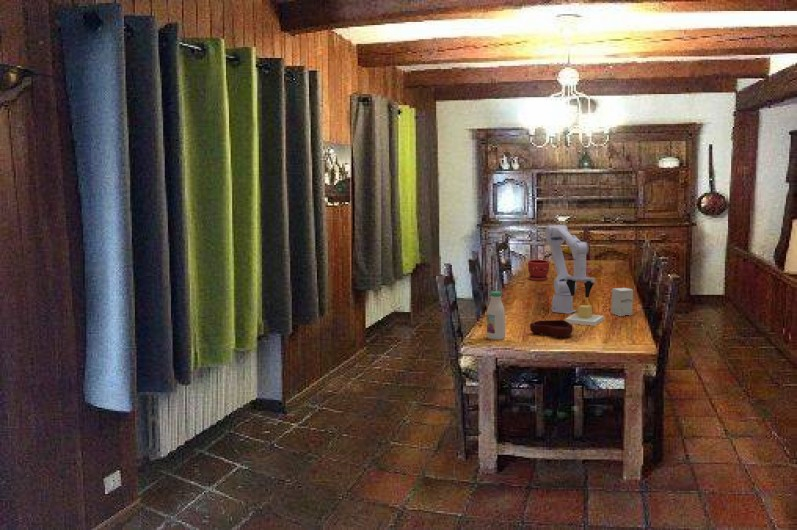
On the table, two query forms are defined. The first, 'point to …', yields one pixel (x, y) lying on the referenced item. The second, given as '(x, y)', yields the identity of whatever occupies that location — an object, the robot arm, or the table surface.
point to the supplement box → (622, 301)
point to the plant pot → (538, 269)
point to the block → (584, 311)
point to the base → (584, 320)
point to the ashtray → (552, 328)
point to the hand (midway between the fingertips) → (579, 296)
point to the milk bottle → (495, 317)
